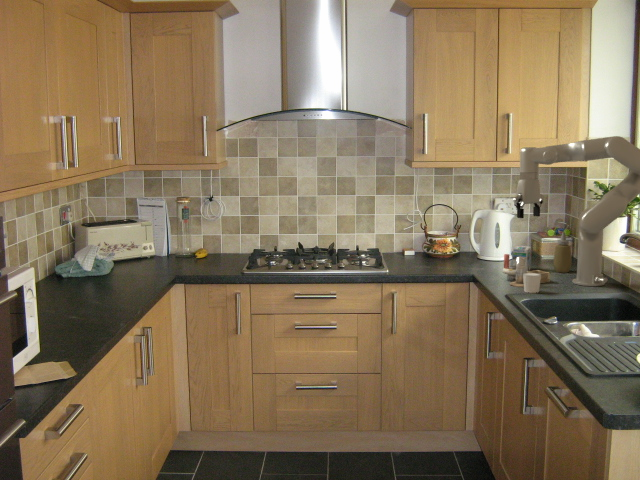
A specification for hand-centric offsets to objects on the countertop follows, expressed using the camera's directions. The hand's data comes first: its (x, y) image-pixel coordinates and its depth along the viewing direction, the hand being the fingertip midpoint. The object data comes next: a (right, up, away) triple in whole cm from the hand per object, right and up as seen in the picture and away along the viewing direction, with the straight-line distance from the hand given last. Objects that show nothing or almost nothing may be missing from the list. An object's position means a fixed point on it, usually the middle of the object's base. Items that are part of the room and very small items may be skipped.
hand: (528, 217), depth 305 cm
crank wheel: (-5, -24, +4) cm, 25 cm away
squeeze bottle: (+22, -24, +22) cm, 39 cm away
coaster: (-5, -28, -5) cm, 29 cm away
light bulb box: (+4, -24, +26) cm, 36 cm away
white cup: (-4, -30, -17) cm, 35 cm away
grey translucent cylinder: (-5, -28, -5) cm, 29 cm away
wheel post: (-5, -27, +4) cm, 28 cm away
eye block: (+4, -27, +1) cm, 28 cm away
